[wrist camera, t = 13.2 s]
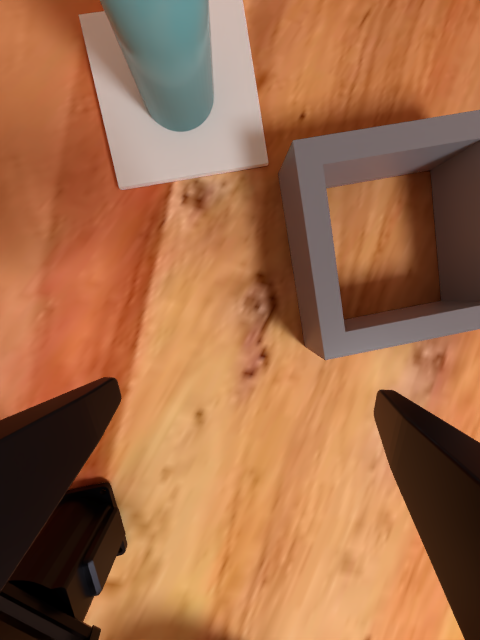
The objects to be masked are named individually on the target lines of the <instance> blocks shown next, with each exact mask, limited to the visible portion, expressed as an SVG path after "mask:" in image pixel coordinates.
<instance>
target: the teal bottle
mask: <svg viewBox="0 0 480 640" xmlns="http://www.w3.org/2000/svg"><path fill="white" fill-rule="evenodd" d="M100 2H101V4H102V7H103V9H104V11H105V14H106V16H107V18H108V21H109V23H110V25H111V28H112V30H113V32H114V35H115V37H116V39H117V42H118V44H119V47H120V49H121V51H122V54H123V56H124V58H125V61H126V63H127V65H128V68H129V70H130V72H131V75H132V77H133V79H134V82H135V84H136V86H137V89H138V91H139V93H140V96H141V98H142V100H143V103H144V105H145V107H146V110H147V111H148V113H149V115H150V116H151V117H152V118H153V119H154V120H155V122H157V123H158V124H159V125H161V126H162V127H164V128H166V129H168V130H171V131H176V132H184V131H190V130H192V129H195V128H197V127H198V126H200V125H201V124H202V123H203V122H204V121H205V120H206V119H207V117H208V116H209V114H210V112H211V110H212V107H213V103H214V83H213V65H212V47H211V28H210V10H209V0H100Z"/></svg>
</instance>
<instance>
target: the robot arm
mask: <svg viewBox="0 0 480 640" xmlns="http://www.w3.org/2000/svg"><path fill="white" fill-rule="evenodd" d="M120 402H121V393H120V389H119V385H118V382H117V380H116V379H115V378H112V377H103V378H101V379H98V380H96V381H94V382H91V383H89V384H86V385H84V386H82V387H79V388H77V389H74V390H72V391H70V392H67V393H65V394H62V395H60V396H58V397H55V398H53V399H50V400H48V401H46V402H43V403H41V404H38V405H36V406H34V407H31V408H29V409H26V410H24V411H22V412H19V413H17V414H14V415H12V416H10V417H7V418H5V419H2V420H0V640H98V639H99V635H100V632H101V629H100V628H98V627H96V626H94V625H93V626H92V627H91V626H89V625H88V624H86V623H84V622H83V621H84V619H85V616H86V614H87V612H88V609H89V607H90V605H91V602H92V600H93V598H94V596H97V595H99V594H100V592H101V591H102V589H103V587H104V585H105V582H106V580H107V577H108V575H109V573H110V570H111V568H112V565H113V563H114V560H115V558H116V556H119V555H122V554H124V553H125V551H126V548H127V541H126V537H125V530H124V527H123V523H122V519H121V516H120V512H119V509H118V508H117V505H116V501H115V498H114V494H113V491H112V487H111V485H110V484H109V483H100V484H95V485H90V486H86V487H81V488H76V489H72V490H68V489H69V487H70V485H71V484H72V482H73V481H74V479H75V478H76V476H77V475H78V473H79V472H80V470H81V469H82V467H83V466H84V464H85V463H86V461H87V460H88V458H89V457H90V455H91V454H92V452H93V450H94V449H95V447H96V446H97V444H98V443H99V441H100V439H101V437H102V436H103V434H104V432H105V430H106V428H107V426H108V425H109V423H110V421H111V419H112V417H113V415H114V413H115V412H116V410H117V408H118V406H119V404H120ZM374 418H375V421H376V425H377V428H378V431H379V434H380V437H381V440H382V444H383V447H384V450H385V453H386V456H387V459H388V462H389V465H390V468H391V471H392V473H393V475H394V478H395V480H396V482H397V485H398V487H399V489H400V492H401V494H402V496H403V499H404V501H405V503H406V505H407V508H408V510H409V512H410V515H411V517H412V519H413V522H414V524H415V526H416V528H417V531H418V533H419V535H420V538H421V540H422V542H423V545H424V547H425V549H426V551H427V554H428V556H429V558H430V561H431V563H432V565H433V568H434V570H435V572H436V575H437V577H438V579H439V581H440V584H441V586H442V588H443V591H444V593H445V595H446V598H447V600H448V602H449V604H450V607H451V609H452V611H453V614H454V616H455V618H456V621H457V623H458V625H459V627H460V630H461V632H462V634H463V637H464V639H465V640H480V443H479V442H478V441H476V440H474V439H473V438H471V437H469V436H468V435H466V434H464V433H463V432H461V431H460V430H458V429H456V428H455V427H453V426H451V425H450V424H448V423H446V422H445V421H443V420H442V419H440V418H438V417H437V416H435V415H433V414H432V413H430V412H428V411H427V410H425V409H423V408H422V407H420V406H419V405H417V404H415V403H414V402H412V401H410V400H409V399H407V398H405V397H404V396H402V395H401V394H399V393H397V392H396V391H393V390H379V391H378V392H377V396H376V402H375V407H374ZM103 489H104V490H106V491H104V490H103Z"/></svg>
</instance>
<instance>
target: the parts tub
mask: <svg viewBox="0 0 480 640" xmlns="http://www.w3.org/2000/svg"><path fill="white" fill-rule="evenodd" d="M429 170H430V172H431V184H432V196H433V208H434V220H435V232H436V245H437V257H438V269H439V281H440V293H441V301H437V302H432V303H427V304H422V305H417V306H411V307H406V308H401V309H396V310H391V311H386V312H381V313H376V314H370V315H365V316H360V317H355V318H350V319H345V320H344V318H343V311H342V303H341V296H340V288H339V281H338V273H337V266H336V258H335V251H334V243H333V236H332V228H331V221H330V213H329V206H328V198H327V191H326V188H330V187H336V186H342V185H348V184H353V183H359V182H365V181H371V180H377V179H382V178H388V177H394V176H400V175H406V174H411V173H417V172H423V171H429ZM278 176H279V183H280V189H281V196H282V202H283V208H284V215H285V221H286V228H287V234H288V241H289V247H290V253H291V260H292V266H293V273H294V279H295V286H296V292H297V298H298V305H299V311H300V318H301V324H302V331H303V337H304V343H305V347H306V348H308V349H309V350H311V351H312V352H314V353H315V354H317V355H318V356H320V357H321V358H323V359H324V360H328V359H333V358H338V357H343V356H348V355H353V354H358V353H363V352H368V351H373V350H378V349H383V348H388V347H393V346H398V345H403V344H408V343H412V342H417V341H422V340H427V339H432V338H437V337H442V336H447V335H452V334H457V333H462V332H467V331H472V330H477V329H480V110H476V111H470V112H464V113H458V114H452V115H446V116H439V117H433V118H427V119H421V120H415V121H409V122H403V123H397V124H390V125H384V126H378V127H372V128H366V129H360V130H354V131H348V132H341V133H335V134H329V135H323V136H317V137H311V138H305V139H299V140H293V142H292V144H291V146H290V148H289V151H288V153H287V155H286V157H285V160H284V162H283V164H282V166H281V169H280V171H279V173H278Z"/></svg>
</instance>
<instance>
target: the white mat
mask: <svg viewBox="0 0 480 640" xmlns="http://www.w3.org/2000/svg"><path fill="white" fill-rule="evenodd" d="M209 10H210V28H211V47H212V65H213V83H214V103H213V107H212V110H211V112H210V114H209V116H208V117H207V119H206V120H205V121H204V122H203V123H202V124H201V125H200V126H198V127H197V128H195V129H192V130H190V131H184V132H176V131H171V130H168V129H166V128H164V127H162V126H161V125H159V124H158V123H157V122H155V120H154V119H153V118H152V117H151V116H150V115H149V113H148V111H147V110H146V107H145V105H144V103H143V100H142V98H141V96H140V93H139V91H138V89H137V86H136V84H135V82H134V79H133V77H132V75H131V72H130V70H129V68H128V65H127V63H126V61H125V58H124V56H123V54H122V51H121V49H120V47H119V44H118V42H117V39H116V37H115V35H114V32H113V30H112V28H111V25H110V23H109V21H108V18H107V16H106V14H105V11H102V12H94V13H87V14H80V15H79V19H80V23H81V27H82V32H83V36H84V40H85V45H86V49H87V53H88V57H89V62H90V66H91V70H92V75H93V79H94V83H95V87H96V92H97V96H98V100H99V105H100V109H101V113H102V117H103V122H104V126H105V130H106V134H107V139H108V143H109V147H110V152H111V156H112V160H113V164H114V169H115V173H116V177H117V182H118V186H119V188H120V189H121V190H125V189H131V188H137V187H143V186H149V185H155V184H161V183H167V182H173V181H179V180H185V179H191V178H197V177H203V176H209V175H215V174H221V173H227V172H233V171H239V170H245V169H251V168H257V167H263V166H268V156H267V150H266V144H265V138H264V131H263V125H262V119H261V113H260V106H259V100H258V94H257V87H256V81H255V75H254V69H253V62H252V56H251V50H250V43H249V37H248V31H247V25H246V18H245V12H244V6H243V0H209Z"/></svg>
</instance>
